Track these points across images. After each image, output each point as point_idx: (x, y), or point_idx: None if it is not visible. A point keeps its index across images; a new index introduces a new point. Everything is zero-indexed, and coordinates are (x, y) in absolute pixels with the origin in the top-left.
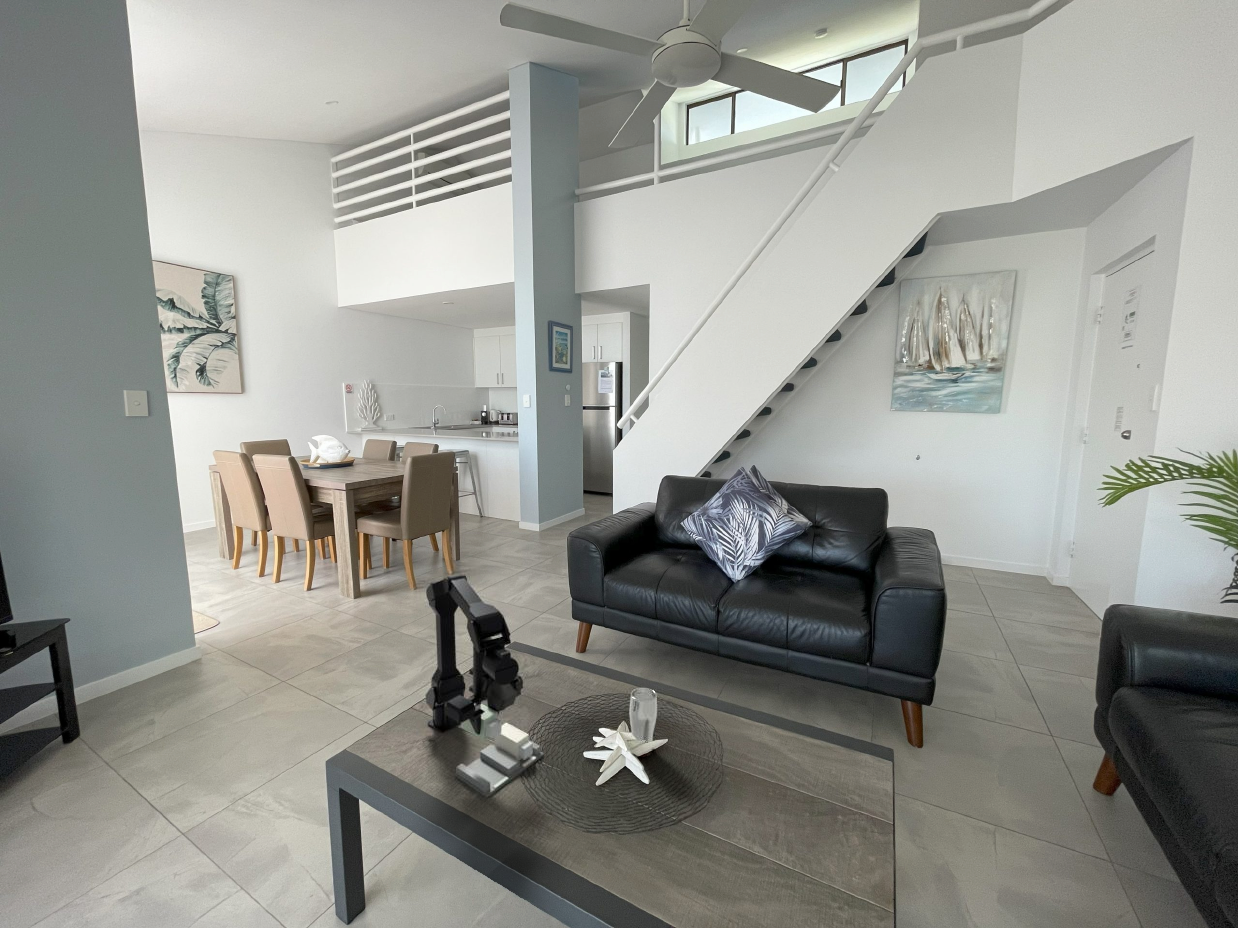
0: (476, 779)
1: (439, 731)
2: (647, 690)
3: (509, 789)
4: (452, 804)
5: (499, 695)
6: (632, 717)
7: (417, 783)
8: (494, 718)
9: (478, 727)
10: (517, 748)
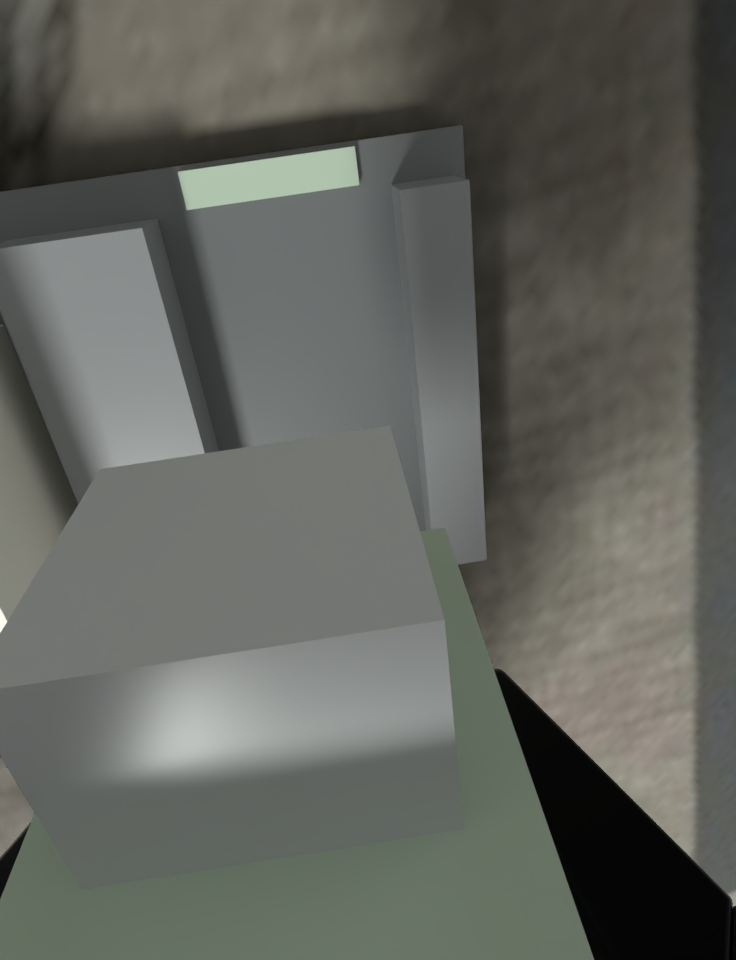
0: (469, 321)
1: None
2: None
3: (235, 53)
4: (680, 276)
5: None
6: None
7: (670, 601)
8: (128, 880)
9: (606, 799)
10: None
